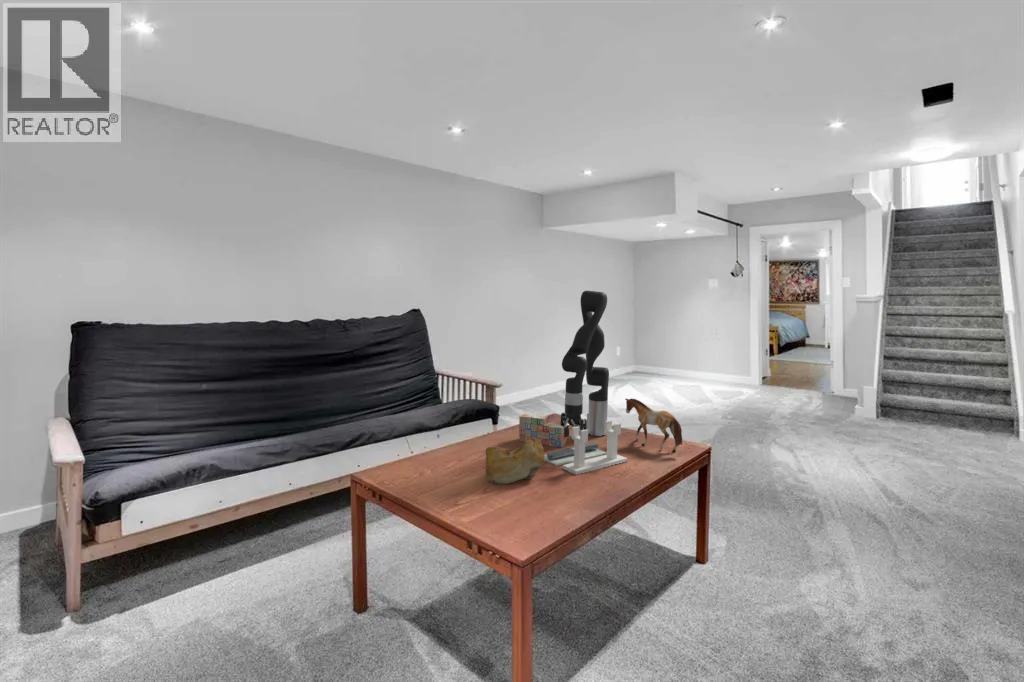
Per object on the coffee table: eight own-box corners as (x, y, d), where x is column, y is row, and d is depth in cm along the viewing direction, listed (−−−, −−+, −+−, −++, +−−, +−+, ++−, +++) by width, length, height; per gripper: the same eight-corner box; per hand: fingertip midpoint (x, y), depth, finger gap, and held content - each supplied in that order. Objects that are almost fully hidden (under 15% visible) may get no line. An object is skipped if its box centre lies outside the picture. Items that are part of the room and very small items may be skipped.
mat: (538, 457, 219) (538, 456, 219) (587, 446, 234) (587, 445, 234) (556, 465, 209) (556, 464, 209) (606, 453, 224) (606, 452, 224)
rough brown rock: (532, 468, 208) (530, 431, 208) (549, 479, 193) (547, 439, 192) (476, 477, 200) (474, 438, 200) (489, 489, 185) (487, 447, 184)
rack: (562, 468, 206) (563, 428, 204) (613, 456, 221) (614, 418, 219) (576, 474, 199) (577, 433, 197) (627, 461, 215) (628, 422, 213)
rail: (551, 461, 213) (552, 454, 213) (546, 458, 216) (547, 451, 215) (597, 450, 228) (598, 443, 227) (592, 447, 230) (593, 441, 230)
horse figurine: (622, 440, 245) (623, 397, 242) (632, 437, 249) (633, 395, 247) (680, 457, 221) (682, 410, 218) (690, 454, 225) (692, 407, 223)
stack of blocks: (566, 444, 238) (566, 418, 237) (561, 448, 232) (561, 421, 231) (524, 437, 248) (524, 412, 246) (518, 441, 242) (519, 415, 241)
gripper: (591, 404, 216) (590, 442, 218) (569, 398, 227) (569, 433, 229) (578, 407, 211) (577, 445, 213) (556, 400, 223) (555, 436, 225)
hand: (573, 439), depth 221 cm, fingers open, 8 cm apart
